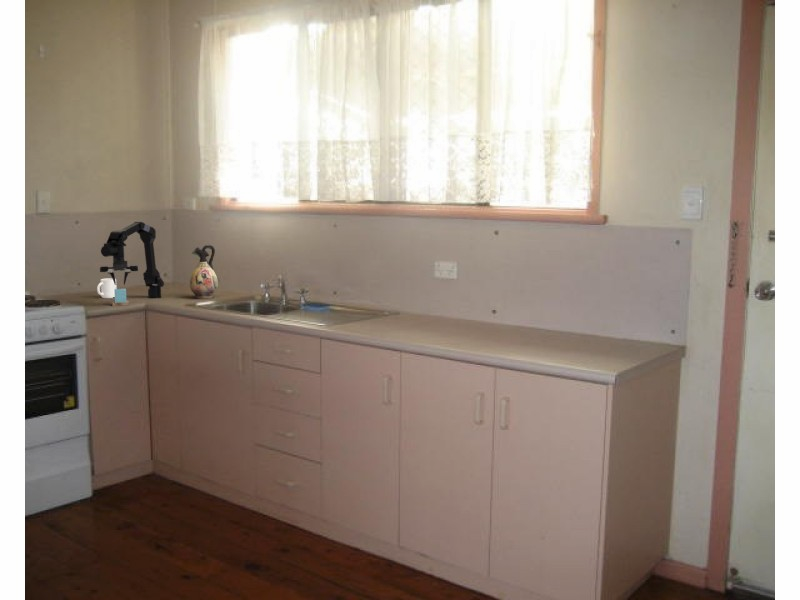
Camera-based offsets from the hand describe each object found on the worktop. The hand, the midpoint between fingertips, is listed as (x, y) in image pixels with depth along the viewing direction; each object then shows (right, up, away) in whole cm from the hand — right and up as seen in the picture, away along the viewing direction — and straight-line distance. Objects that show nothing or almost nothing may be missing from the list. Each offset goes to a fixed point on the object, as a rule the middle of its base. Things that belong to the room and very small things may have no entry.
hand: (119, 284), depth 420 cm
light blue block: (0, -9, +1) cm, 9 cm away
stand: (0, -10, +2) cm, 10 cm away
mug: (-17, -7, +27) cm, 33 cm away
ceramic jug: (+38, -7, +29) cm, 48 cm away
